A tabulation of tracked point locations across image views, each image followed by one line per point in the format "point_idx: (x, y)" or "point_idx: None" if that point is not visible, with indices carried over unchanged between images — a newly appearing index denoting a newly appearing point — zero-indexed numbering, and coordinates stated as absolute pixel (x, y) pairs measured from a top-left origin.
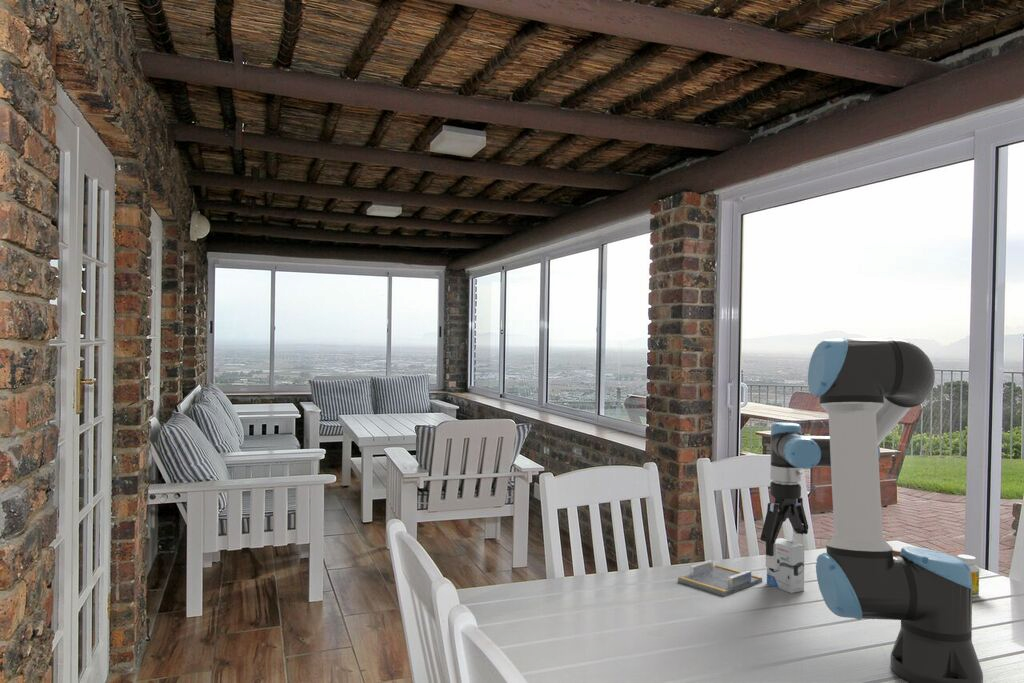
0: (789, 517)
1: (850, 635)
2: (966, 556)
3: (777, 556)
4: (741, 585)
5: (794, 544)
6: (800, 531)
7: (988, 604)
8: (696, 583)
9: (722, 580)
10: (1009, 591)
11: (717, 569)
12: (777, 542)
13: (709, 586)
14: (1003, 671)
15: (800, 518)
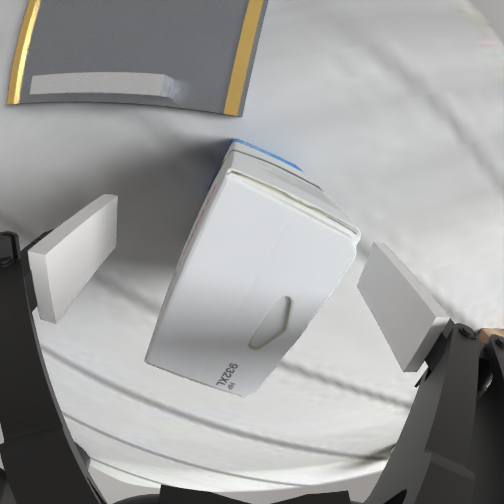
0: (415, 450)
1: (54, 388)
2: None
3: (189, 235)
4: (94, 98)
5: (228, 364)
6: (433, 365)
7: (366, 465)
8: (30, 2)
9: (105, 22)
10: None
11: None
12: (202, 266)
13: (16, 48)
14: (122, 479)
15: (481, 428)
